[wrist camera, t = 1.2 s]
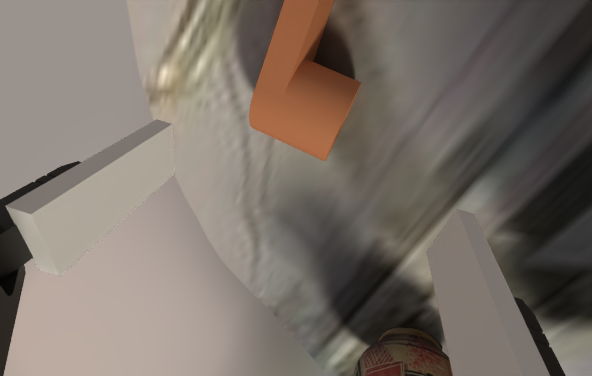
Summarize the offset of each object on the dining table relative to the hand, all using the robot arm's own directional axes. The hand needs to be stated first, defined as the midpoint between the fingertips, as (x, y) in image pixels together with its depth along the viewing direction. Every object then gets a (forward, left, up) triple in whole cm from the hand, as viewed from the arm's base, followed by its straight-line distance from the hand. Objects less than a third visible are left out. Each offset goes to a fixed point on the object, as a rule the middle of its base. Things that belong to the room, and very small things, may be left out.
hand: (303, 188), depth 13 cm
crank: (+4, -4, -20) cm, 21 cm away
